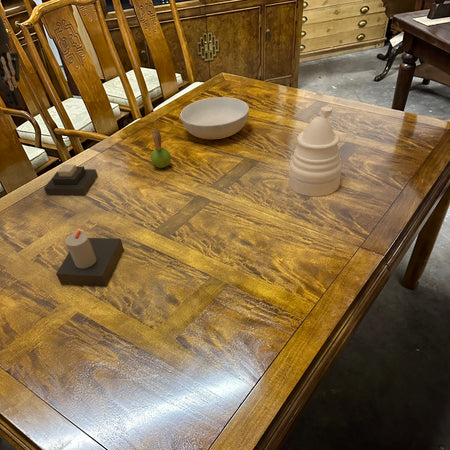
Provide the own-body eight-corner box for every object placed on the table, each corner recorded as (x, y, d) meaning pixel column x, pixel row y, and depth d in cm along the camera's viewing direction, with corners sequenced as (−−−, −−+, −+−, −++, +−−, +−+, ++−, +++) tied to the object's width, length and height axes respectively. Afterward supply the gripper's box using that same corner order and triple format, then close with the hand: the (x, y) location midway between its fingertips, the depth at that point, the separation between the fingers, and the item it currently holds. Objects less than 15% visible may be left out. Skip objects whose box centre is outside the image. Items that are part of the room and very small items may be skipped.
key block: (46, 195, 112) (40, 182, 109) (61, 175, 119) (56, 162, 116) (85, 196, 111) (80, 182, 108) (98, 176, 117) (93, 163, 114)
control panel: (60, 284, 87) (55, 273, 85) (82, 247, 95) (78, 237, 93) (106, 286, 86) (102, 275, 83) (124, 249, 94) (120, 238, 92)
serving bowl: (202, 114, 141) (200, 93, 136) (259, 122, 134) (259, 100, 129) (170, 142, 129) (167, 119, 124) (232, 152, 121) (230, 129, 116)
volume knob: (92, 268, 85) (83, 244, 81) (72, 268, 86) (61, 244, 81) (99, 254, 88) (90, 230, 84) (79, 254, 89) (69, 230, 84)
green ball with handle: (152, 174, 116) (142, 132, 107) (154, 162, 120) (145, 121, 112) (171, 172, 116) (163, 130, 107) (172, 161, 120) (165, 119, 112)
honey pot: (314, 164, 113) (320, 95, 100) (350, 183, 106) (362, 111, 93) (278, 182, 109) (279, 111, 96) (313, 202, 101) (320, 129, 88)
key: (59, 177, 111) (57, 171, 110) (65, 170, 114) (62, 164, 112) (72, 177, 111) (70, 171, 109) (77, 170, 113) (75, 164, 112)
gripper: (-19, 26, 78) (19, 119, 91) (13, 8, 87) (44, 94, 99) (-56, 27, 79) (-13, 119, 91) (-20, 9, 88) (15, 95, 100)
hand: (17, 106), depth 95 cm, fingers closed
